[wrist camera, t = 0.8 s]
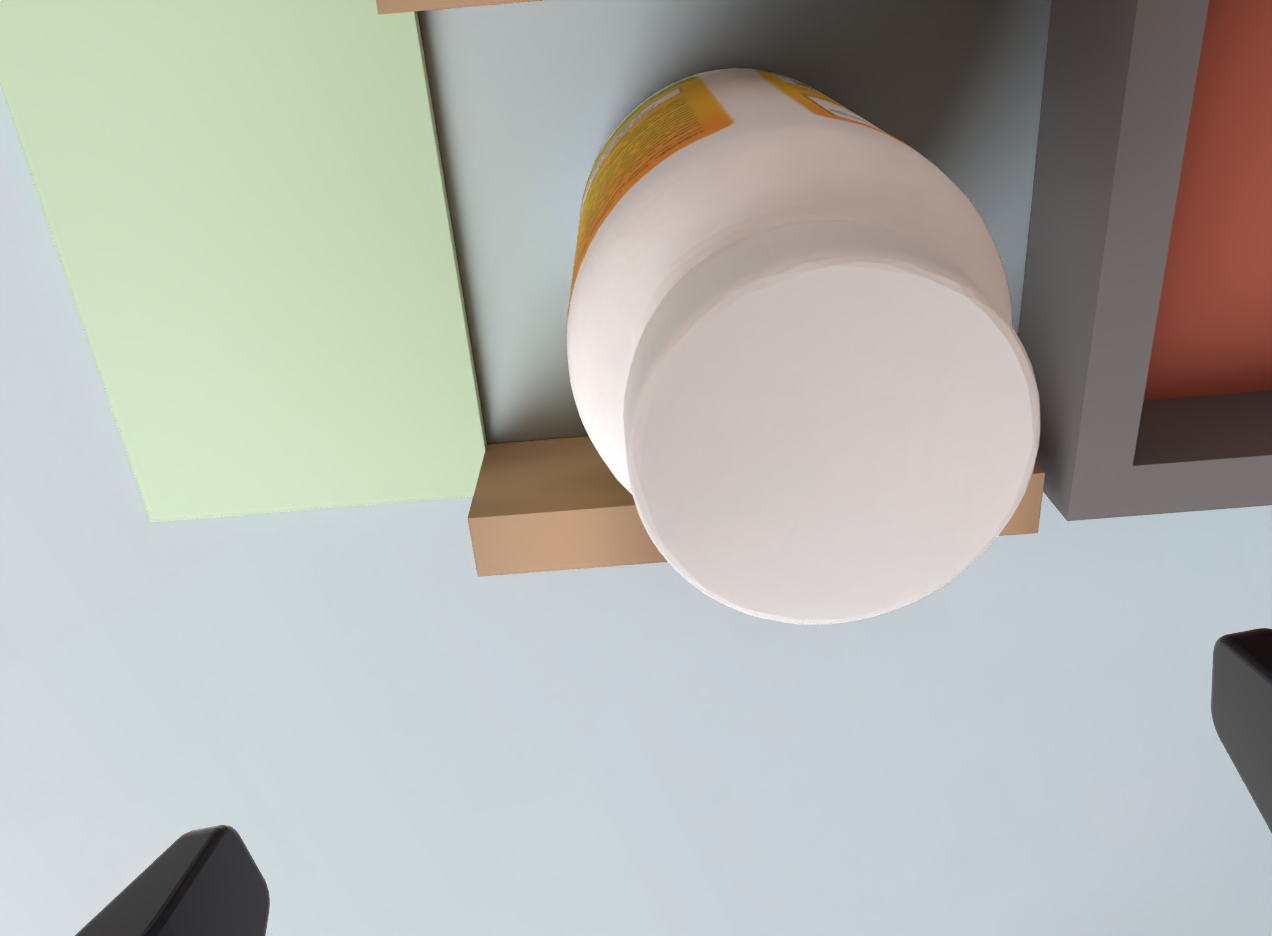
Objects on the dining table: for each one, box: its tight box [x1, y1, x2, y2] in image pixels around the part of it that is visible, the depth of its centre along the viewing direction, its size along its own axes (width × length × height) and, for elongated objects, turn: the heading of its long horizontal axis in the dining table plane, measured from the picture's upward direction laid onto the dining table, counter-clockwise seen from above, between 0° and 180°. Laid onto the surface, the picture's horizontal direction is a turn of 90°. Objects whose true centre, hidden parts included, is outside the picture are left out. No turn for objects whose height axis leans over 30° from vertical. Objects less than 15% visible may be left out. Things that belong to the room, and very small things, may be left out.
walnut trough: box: [376, 0, 1045, 576], centre depth 17 cm, size 10×10×3 cm
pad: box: [0, 0, 487, 522], centre depth 18 cm, size 7×10×1 cm
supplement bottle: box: [567, 68, 1040, 624], centre depth 14 cm, size 5×5×10 cm
